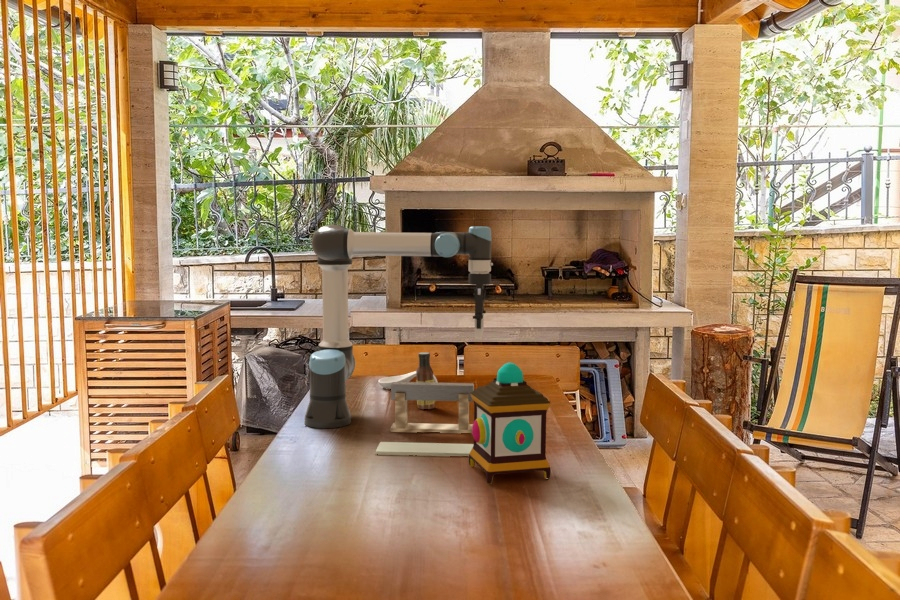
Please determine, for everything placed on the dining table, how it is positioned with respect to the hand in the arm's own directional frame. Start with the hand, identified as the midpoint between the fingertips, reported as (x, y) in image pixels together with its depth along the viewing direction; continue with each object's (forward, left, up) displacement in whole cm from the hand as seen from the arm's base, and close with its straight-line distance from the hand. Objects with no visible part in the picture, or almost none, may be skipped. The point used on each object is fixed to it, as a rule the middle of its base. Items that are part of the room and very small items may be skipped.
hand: (479, 335), depth 286 cm
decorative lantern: (+10, -62, -28) cm, 69 cm away
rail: (-14, -19, -18) cm, 30 cm away
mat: (-14, -43, -28) cm, 53 cm away
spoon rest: (-29, +45, -28) cm, 60 cm away
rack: (-14, -19, -28) cm, 37 cm away
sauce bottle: (-19, +11, -28) cm, 36 cm away
